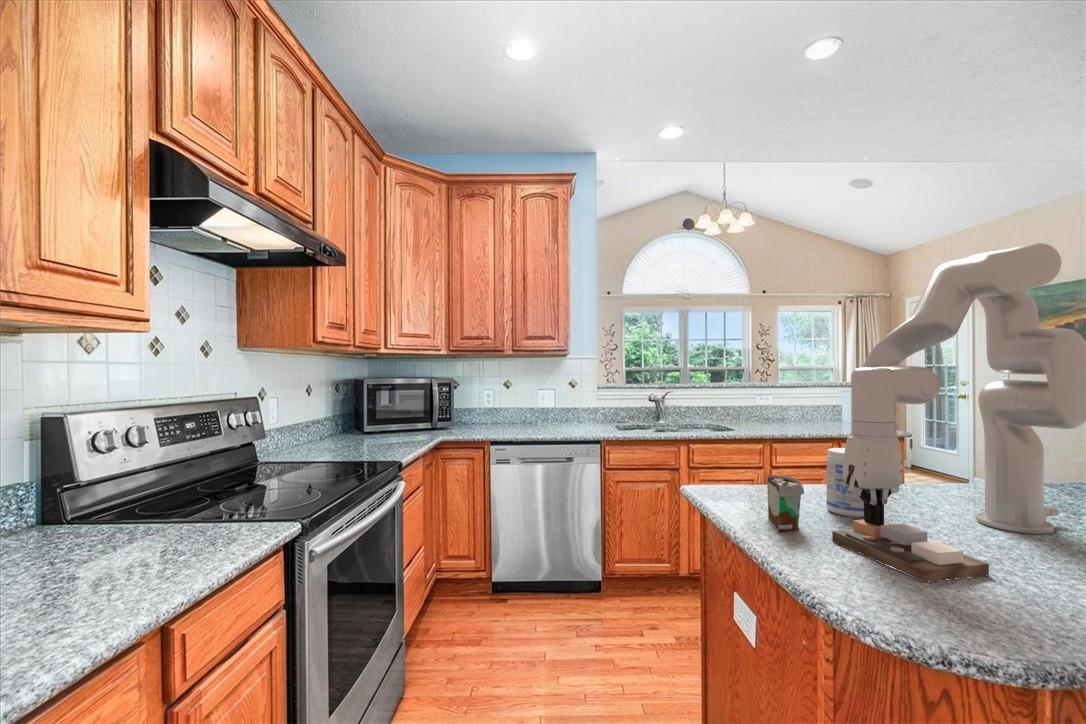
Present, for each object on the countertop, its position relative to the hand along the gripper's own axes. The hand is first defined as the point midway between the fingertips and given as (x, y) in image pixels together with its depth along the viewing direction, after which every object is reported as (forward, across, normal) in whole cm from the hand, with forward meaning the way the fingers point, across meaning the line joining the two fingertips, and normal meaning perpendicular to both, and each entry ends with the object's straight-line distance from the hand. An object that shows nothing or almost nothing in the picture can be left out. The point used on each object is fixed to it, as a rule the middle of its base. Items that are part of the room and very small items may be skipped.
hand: (873, 523), depth 101 cm
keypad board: (+4, 0, +6) cm, 8 cm away
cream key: (+2, 0, +13) cm, 13 cm away
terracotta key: (+2, 0, 0) cm, 2 cm away
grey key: (+1, 0, +6) cm, 7 cm away
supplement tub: (+4, -12, -20) cm, 23 cm away
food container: (+4, +9, -14) cm, 17 cm away
